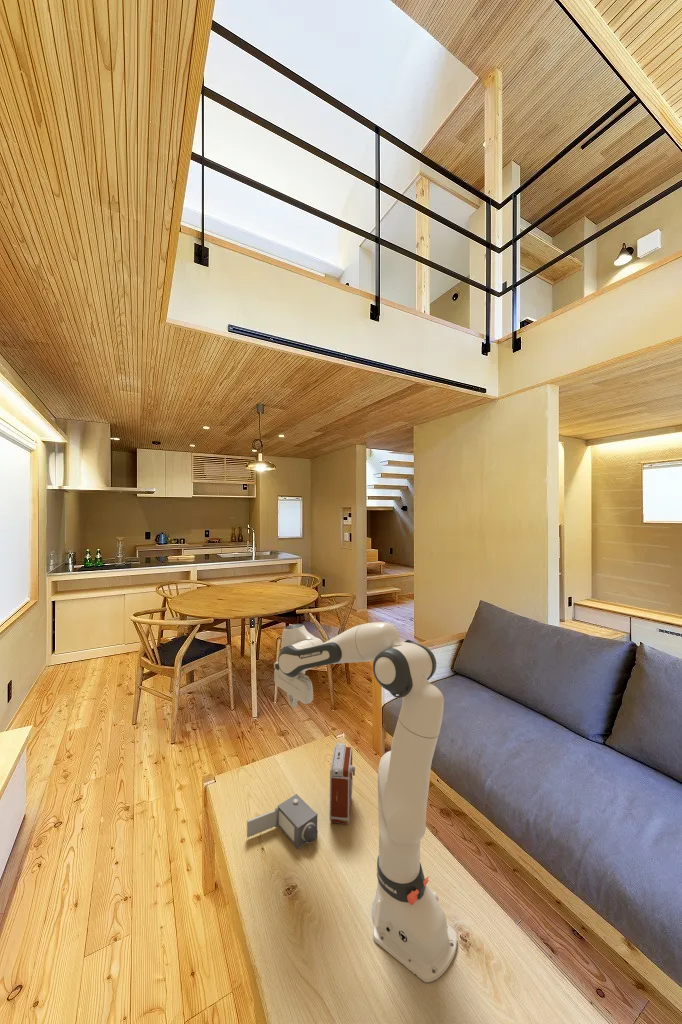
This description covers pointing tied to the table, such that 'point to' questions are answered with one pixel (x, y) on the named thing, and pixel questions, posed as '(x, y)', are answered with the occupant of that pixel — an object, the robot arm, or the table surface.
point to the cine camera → (341, 784)
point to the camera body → (297, 821)
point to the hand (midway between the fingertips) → (293, 705)
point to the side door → (262, 822)
